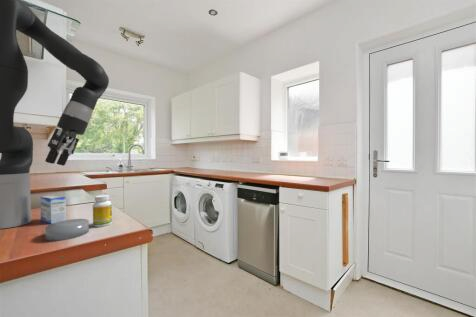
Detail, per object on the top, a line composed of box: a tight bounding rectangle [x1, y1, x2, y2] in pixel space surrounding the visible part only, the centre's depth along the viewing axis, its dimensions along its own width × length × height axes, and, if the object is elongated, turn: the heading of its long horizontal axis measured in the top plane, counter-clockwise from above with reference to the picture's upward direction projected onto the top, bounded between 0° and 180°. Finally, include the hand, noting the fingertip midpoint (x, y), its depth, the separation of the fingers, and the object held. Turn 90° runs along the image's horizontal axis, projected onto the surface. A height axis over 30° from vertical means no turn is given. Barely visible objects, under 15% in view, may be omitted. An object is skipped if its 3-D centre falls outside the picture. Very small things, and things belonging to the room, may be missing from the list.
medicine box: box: [40, 195, 67, 224], centre depth 78 cm, size 8×4×9 cm, turn 62°
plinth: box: [44, 218, 90, 242], centre depth 64 cm, size 10×10×3 cm
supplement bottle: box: [92, 194, 113, 228], centre depth 73 cm, size 5×5×10 cm
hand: (55, 163), depth 70 cm, fingers open, 8 cm apart
